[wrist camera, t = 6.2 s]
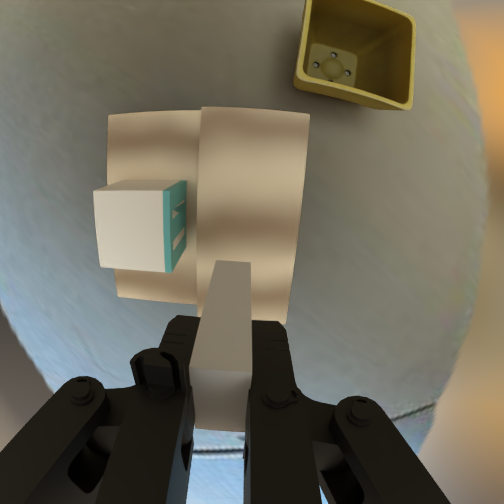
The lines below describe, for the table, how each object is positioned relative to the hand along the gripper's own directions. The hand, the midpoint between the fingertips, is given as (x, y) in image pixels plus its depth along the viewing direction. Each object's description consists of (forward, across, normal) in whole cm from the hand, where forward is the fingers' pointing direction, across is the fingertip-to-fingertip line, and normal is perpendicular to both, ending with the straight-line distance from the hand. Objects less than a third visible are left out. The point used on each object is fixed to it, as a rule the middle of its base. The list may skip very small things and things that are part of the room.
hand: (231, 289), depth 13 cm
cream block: (+10, -5, 0) cm, 11 cm away
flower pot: (+17, +8, +15) cm, 24 cm away
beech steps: (+16, -4, 0) cm, 17 cm away
